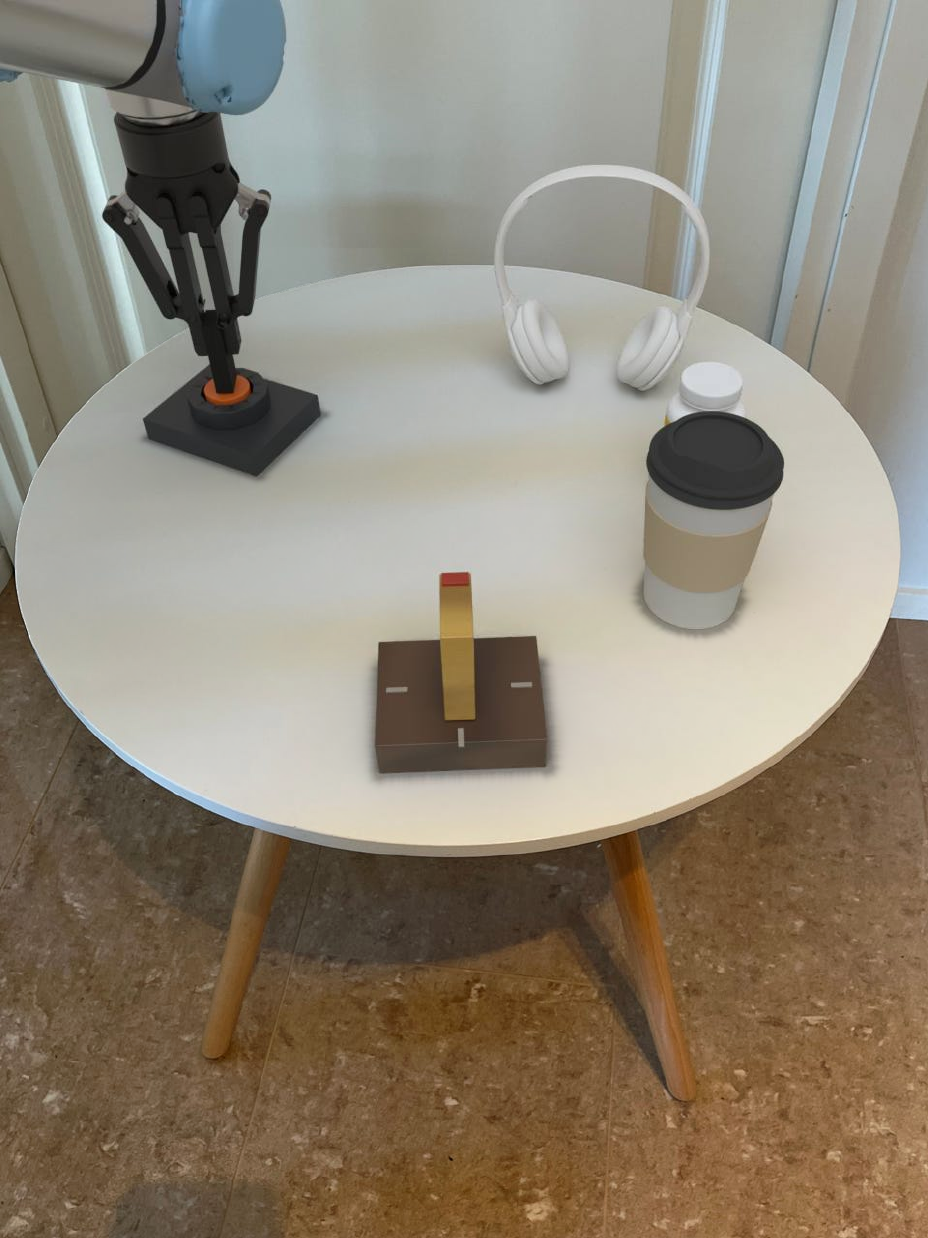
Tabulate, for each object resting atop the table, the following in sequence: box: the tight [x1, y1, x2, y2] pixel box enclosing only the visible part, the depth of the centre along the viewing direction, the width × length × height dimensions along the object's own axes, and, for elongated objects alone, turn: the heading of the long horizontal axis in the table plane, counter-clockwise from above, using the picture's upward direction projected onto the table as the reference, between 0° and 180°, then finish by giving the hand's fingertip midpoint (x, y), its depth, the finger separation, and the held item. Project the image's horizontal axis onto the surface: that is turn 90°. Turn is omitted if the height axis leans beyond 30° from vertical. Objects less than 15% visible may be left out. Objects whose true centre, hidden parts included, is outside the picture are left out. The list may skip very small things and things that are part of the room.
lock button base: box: [142, 363, 322, 477], centre depth 95 cm, size 12×10×4 cm
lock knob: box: [438, 571, 475, 720], centre depth 67 cm, size 6×2×8 cm, turn 1°
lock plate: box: [374, 635, 548, 774], centre depth 71 cm, size 11×10×3 cm
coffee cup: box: [642, 411, 785, 630], centre depth 74 cm, size 9×9×15 cm
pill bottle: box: [664, 361, 747, 426], centre depth 84 cm, size 6×6×11 cm
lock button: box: [204, 375, 251, 405], centre depth 94 cm, size 4×4×2 cm
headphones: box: [493, 164, 711, 391], centre depth 92 cm, size 7×18×20 cm, turn 82°
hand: (226, 383), depth 93 cm, fingers closed
